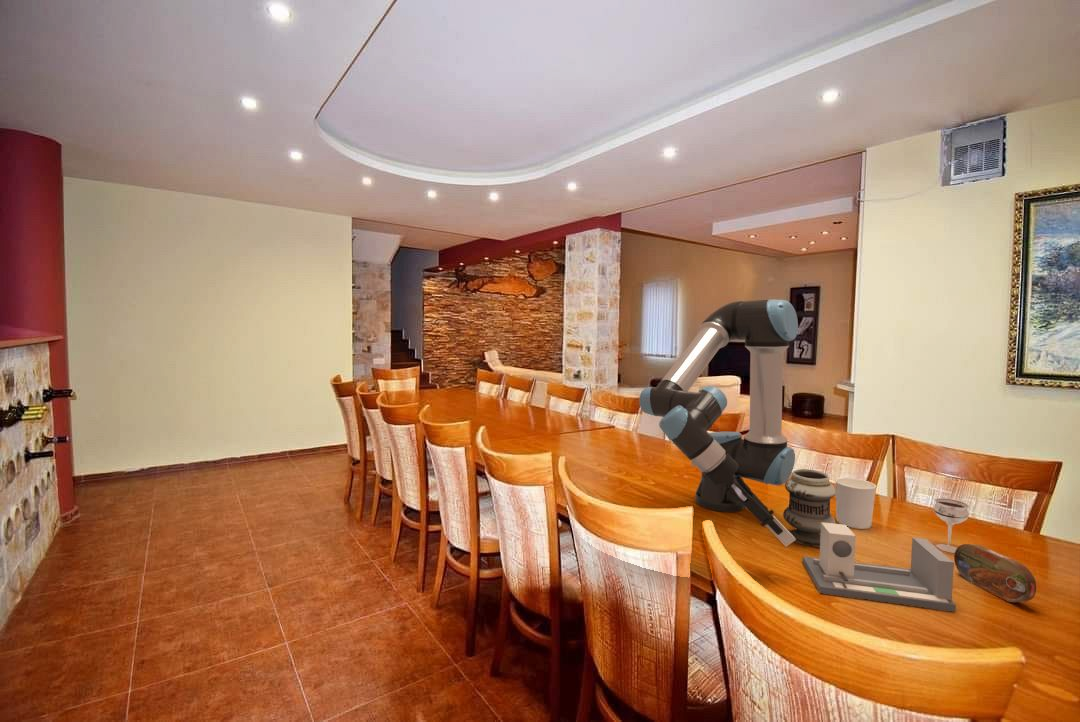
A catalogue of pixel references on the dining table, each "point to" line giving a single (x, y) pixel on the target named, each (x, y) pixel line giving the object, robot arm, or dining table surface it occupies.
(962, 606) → the dining table surface
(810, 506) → the apothecary jar
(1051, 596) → the dining table surface
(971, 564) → the tin
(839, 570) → the gauge carriage
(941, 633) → the dining table surface
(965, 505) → the wineglass
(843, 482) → the candle holder
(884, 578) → the gauge bed
